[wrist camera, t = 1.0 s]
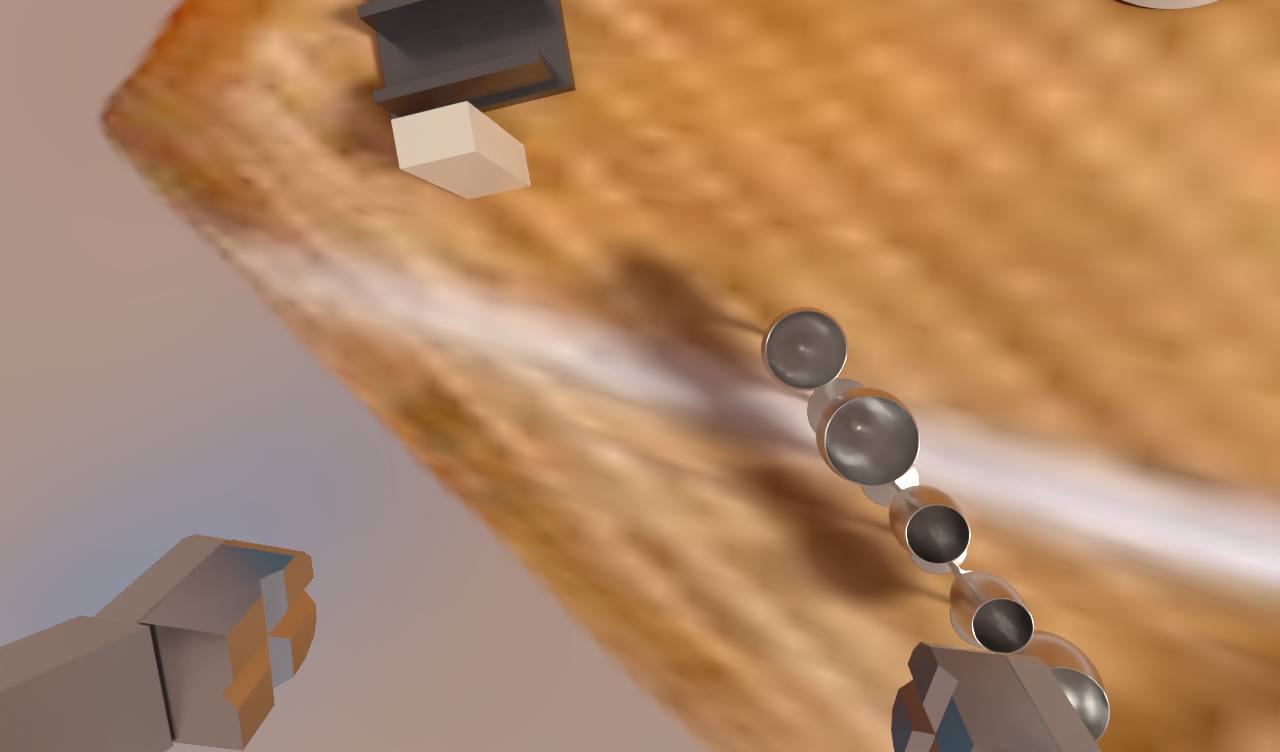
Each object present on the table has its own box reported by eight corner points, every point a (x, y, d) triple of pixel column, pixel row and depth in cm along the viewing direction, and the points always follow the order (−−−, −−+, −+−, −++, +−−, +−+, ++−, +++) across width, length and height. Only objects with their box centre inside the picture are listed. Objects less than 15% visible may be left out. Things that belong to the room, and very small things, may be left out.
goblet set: (741, 341, 49) (734, 345, 36) (809, 294, 48) (828, 280, 35) (973, 670, 48) (1053, 798, 35) (1048, 629, 47) (1160, 744, 34)
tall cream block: (461, 159, 52) (391, 119, 42) (523, 145, 51) (467, 101, 41) (468, 199, 52) (399, 168, 42) (530, 185, 51) (475, 151, 41)
